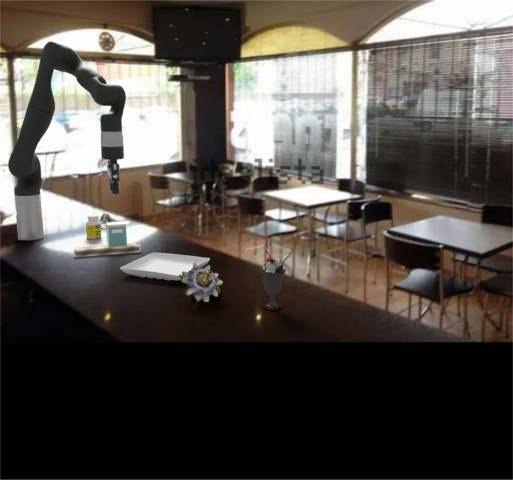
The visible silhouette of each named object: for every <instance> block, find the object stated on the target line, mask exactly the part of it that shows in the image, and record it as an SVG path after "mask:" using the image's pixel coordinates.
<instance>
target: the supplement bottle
mask: <svg viewBox="0 0 513 480" xmlns="http://www.w3.org/2000/svg"><path fill="white" fill-rule="evenodd" d="M99 219H100V217H99V215H98V214H89V215H87V221H86V222H85V223H86V226H85V227H86V231H85V232H86V239H87V240H90V241H91V240H92V241H96V240H100V239H102V229H101V222H100V221H98V220H99Z"/></svg>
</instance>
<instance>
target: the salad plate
mask: <svg viewBox="0 0 513 480" xmlns="http://www.w3.org/2000/svg"><path fill="white" fill-rule="evenodd" d="M209 261H211V259H210V257H202V256H196V255H195V256H193V255H186V254H185V255H184V254H175V253H165V252H151V253H149V254H147V255H144V256H142V257H139V258H138V259H137V258H136V260H133V261H131V262H129V263H127V264H124V265H123V266H120V268H119V269H120V270H121V271H122V272H123V273H125V274H128V275H131V276H135V277H138V276H139V277H138V278H145V277H148V278H147V279H153V278H156V279H155V280H161V279H164V281H171V280H173V281H172V282H174V280H175V282H176V281H181V280H182V279H181V278H180V277H179V275H180V274H181V276H182V272H183V271H184V272H188V271H191V269H193V264H194V262H195V263H197V264H198V266H199V267H200V266H202V268H204V266H206V265H207V264H208V263H209ZM187 275H188V273H187V274H185V276H186V277H187ZM183 278H184V276H183Z"/></svg>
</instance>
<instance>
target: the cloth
mask: <svg viewBox="0 0 513 480" xmlns="http://www.w3.org/2000/svg"><path fill="white" fill-rule="evenodd" d="M98 221H100V222H101V228H102V229H101V230H107V229H106V227H107V223H109V222H125V223H126V226H127V227H126V228H128V226H129V227H130V224H131V222H130V221H129V220H119V219H114V218H113V217H112V216H111V215H110V214H109V212H107V211H104V212H103V213H102V214H101V216H100V217H99V219H98ZM84 225H86V222H84V223H83V226H84Z"/></svg>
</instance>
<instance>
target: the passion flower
mask: <svg viewBox="0 0 513 480" xmlns="http://www.w3.org/2000/svg"><path fill="white" fill-rule="evenodd" d="M187 273H188V275H187V276H185V274H187ZM183 276H184V278H183ZM179 277H180V278H181V280H180V282H181V283H183V284H185V285H186V286H187V288H186V290H185V291H184V295H185V296H192V295H193V299H194V300H195V301H196V302H197V303H199V302H200V301H202V302H203V301H204V302H208V303H209V301H210V296H211V295H212V296H213V297H215V298H217V297H219V295H220V293H221V289H220V286H221V285H223V282H224V281H223V280H221V279H220V278H218V277H219V273H216V272H215V273H214V272H213V270H211V265H205V267H202V266H200V267H199V266H198V264H197V263H195V262H194V264H193V269H191V271H188V272H184V271H183V272H182V276H181V274H180V275H179ZM191 294H192V295H191ZM218 294H219V295H218ZM204 302H203V303H204Z"/></svg>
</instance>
